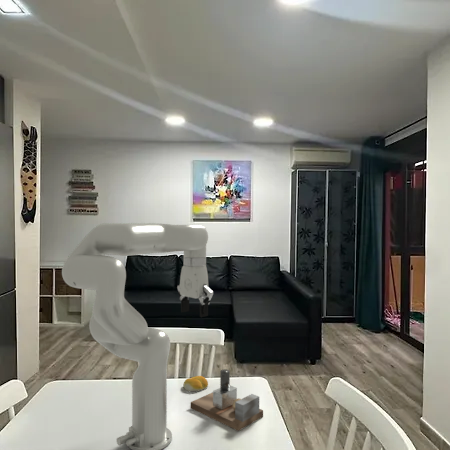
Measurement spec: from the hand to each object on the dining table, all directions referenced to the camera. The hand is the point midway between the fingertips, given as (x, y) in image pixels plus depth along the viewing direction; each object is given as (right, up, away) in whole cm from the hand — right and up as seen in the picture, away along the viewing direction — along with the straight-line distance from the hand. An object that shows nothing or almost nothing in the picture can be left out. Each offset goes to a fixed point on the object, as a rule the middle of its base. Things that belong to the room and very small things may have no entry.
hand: (194, 314), depth 133 cm
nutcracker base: (+11, -31, -4) cm, 33 cm away
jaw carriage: (+10, -29, -3) cm, 31 cm away
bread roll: (-1, -31, +16) cm, 35 cm away
